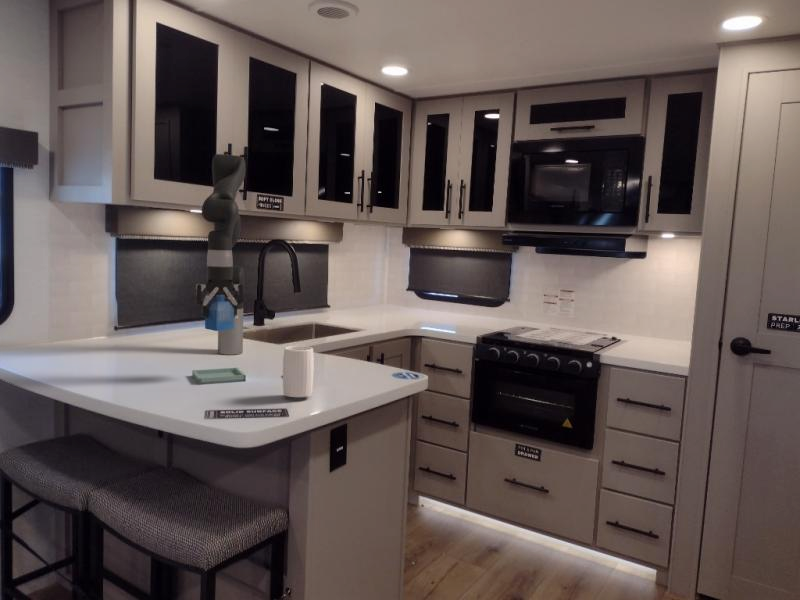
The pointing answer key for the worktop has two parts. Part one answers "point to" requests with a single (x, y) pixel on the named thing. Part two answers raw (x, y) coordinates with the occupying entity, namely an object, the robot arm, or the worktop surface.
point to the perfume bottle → (219, 314)
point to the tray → (218, 375)
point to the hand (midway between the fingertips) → (219, 317)
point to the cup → (298, 371)
